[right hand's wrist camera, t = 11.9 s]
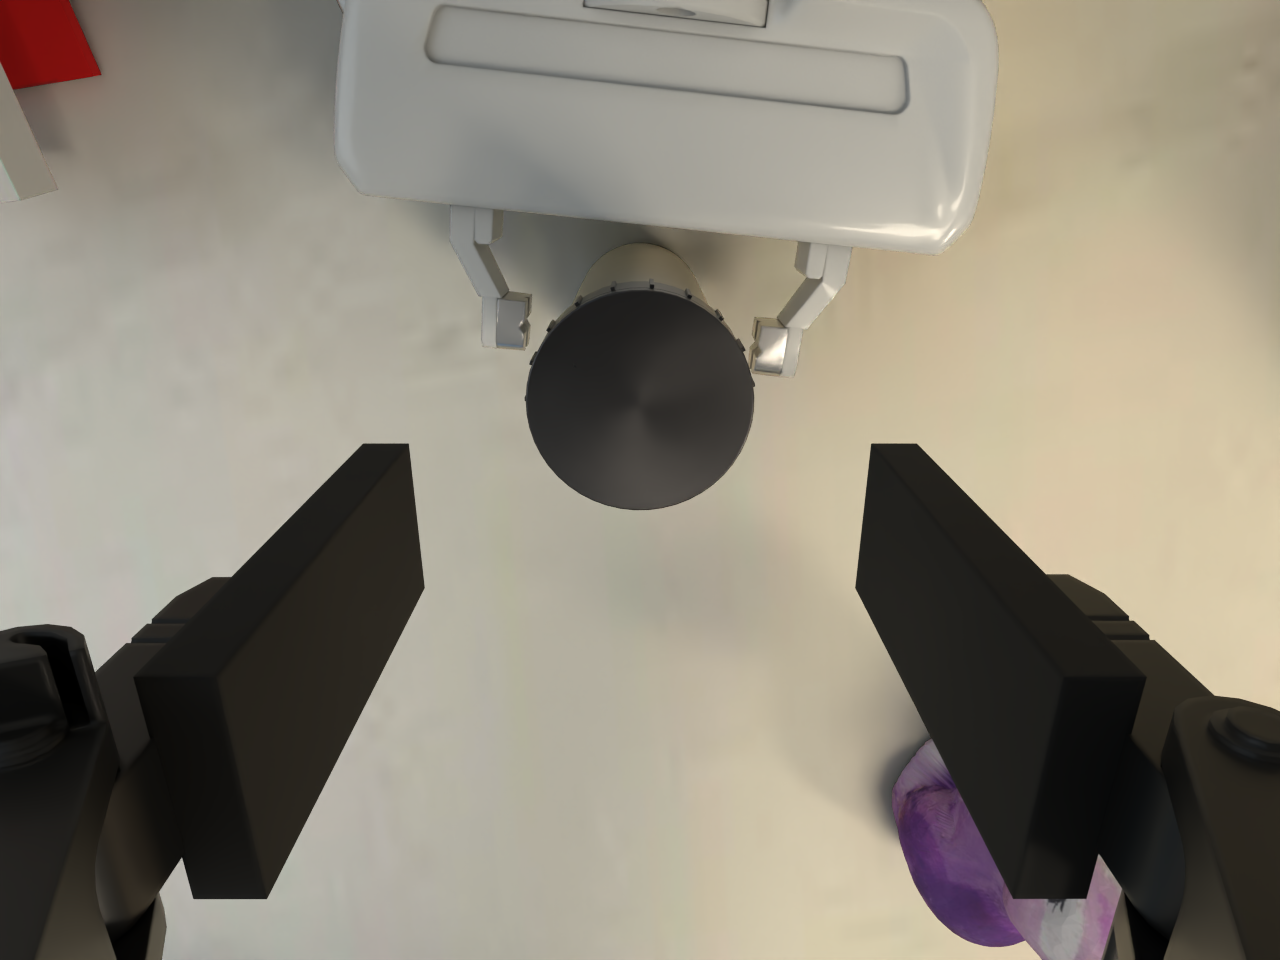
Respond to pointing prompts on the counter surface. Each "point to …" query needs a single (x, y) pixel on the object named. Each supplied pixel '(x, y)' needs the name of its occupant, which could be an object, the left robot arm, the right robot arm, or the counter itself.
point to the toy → (34, 84)
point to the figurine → (987, 874)
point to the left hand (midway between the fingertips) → (638, 359)
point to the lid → (640, 396)
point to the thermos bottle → (640, 269)
